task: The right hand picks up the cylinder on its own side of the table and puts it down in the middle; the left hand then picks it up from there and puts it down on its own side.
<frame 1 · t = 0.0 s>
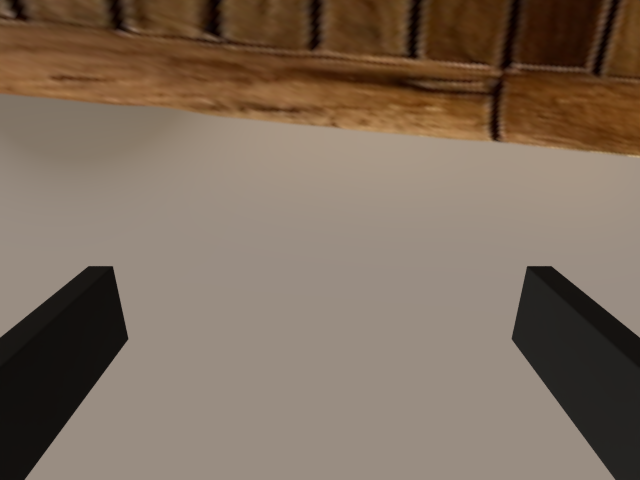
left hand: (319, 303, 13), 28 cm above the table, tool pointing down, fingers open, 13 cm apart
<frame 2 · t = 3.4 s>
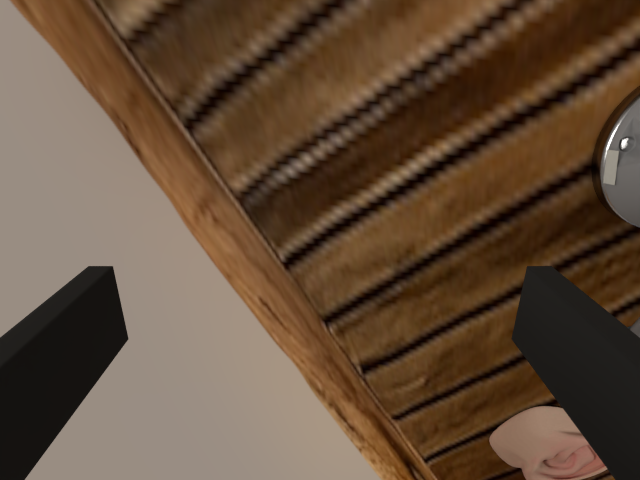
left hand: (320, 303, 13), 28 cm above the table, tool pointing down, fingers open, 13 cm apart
anatomical model: (542, 437, 52), on the table
when the right hand's fingers open (7 cm above the table, at t = 10.2 s): cylinder drops 2 cm, on the table.
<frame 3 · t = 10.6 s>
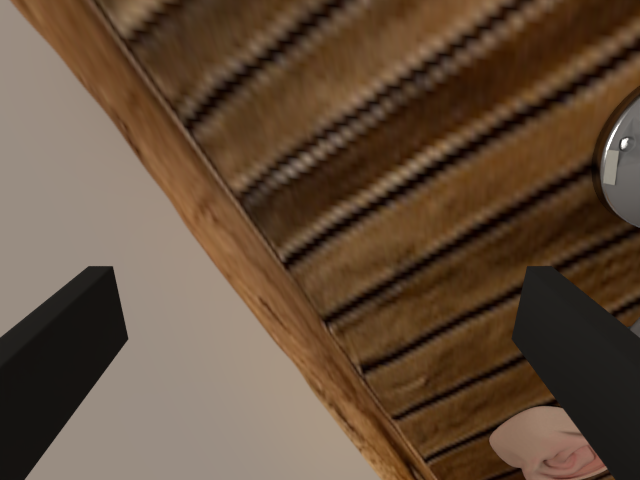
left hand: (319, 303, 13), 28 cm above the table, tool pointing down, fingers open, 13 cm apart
anatomical model: (542, 437, 52), on the table
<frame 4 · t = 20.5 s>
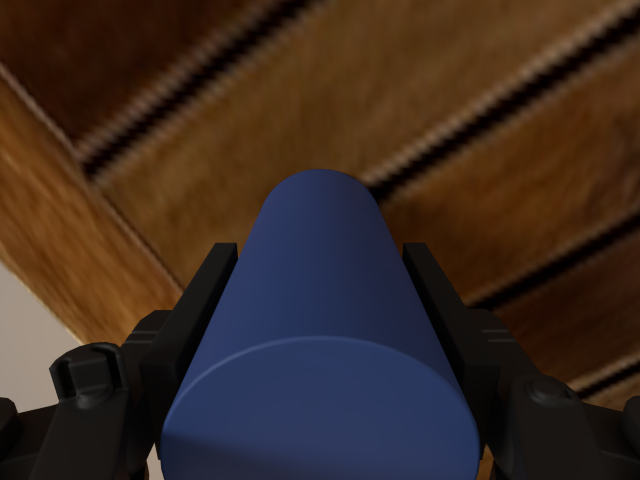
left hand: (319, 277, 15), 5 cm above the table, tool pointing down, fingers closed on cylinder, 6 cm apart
cylinder: (320, 230, 19), on the table, touching left hand
when the left hand's fingers open (7 cm above the table, at t = 32.6 s): cylinder drops 2 cm, on the table.
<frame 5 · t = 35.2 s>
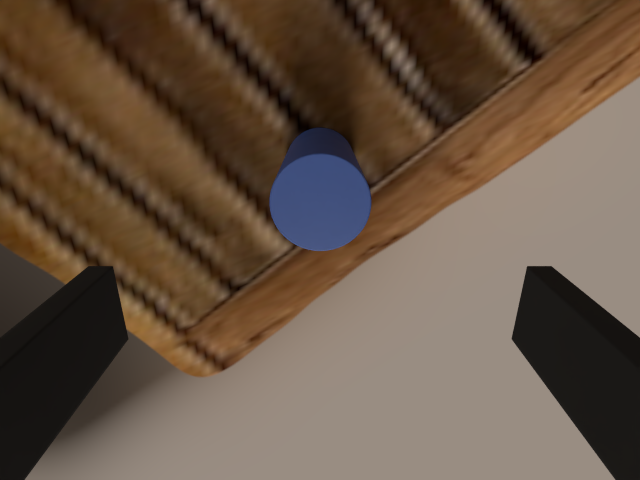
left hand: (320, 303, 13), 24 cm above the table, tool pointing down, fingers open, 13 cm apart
cylinder: (320, 162, 35), on the table
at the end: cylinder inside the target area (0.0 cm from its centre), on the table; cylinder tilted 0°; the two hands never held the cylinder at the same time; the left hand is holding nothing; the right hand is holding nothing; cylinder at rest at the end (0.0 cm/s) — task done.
